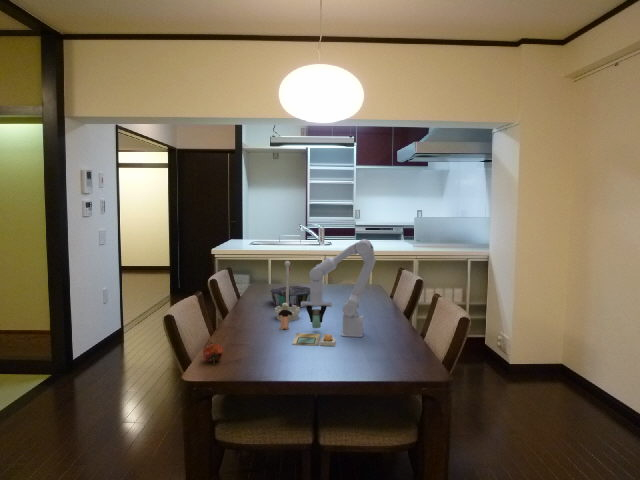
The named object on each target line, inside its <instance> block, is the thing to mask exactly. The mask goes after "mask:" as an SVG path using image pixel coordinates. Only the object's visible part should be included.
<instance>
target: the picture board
mask: <svg viewBox="0 0 640 480" xmlns="http://www.w3.org/2000/svg"><path fill="white" fill-rule="evenodd" d="M321 336H322V335H321V333H303V332H302V333H298V332H297V333H296V334H295V336H294V338H293V341H292V343H291V344H292V346H317V347H319V345H320V344H319V343H320V341H321Z"/></svg>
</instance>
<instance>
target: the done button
mask: <svg viewBox="0 0 640 480" xmlns="http://www.w3.org/2000/svg"><path fill="white" fill-rule="evenodd" d="M332 336H333V335H332V334H330V333H329V334H327V333H326V334H324V335H323V338H324V341H330V342H331V341H332V338H333V337H332Z"/></svg>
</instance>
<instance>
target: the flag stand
mask: <svg viewBox="0 0 640 480" xmlns="http://www.w3.org/2000/svg"><path fill="white" fill-rule="evenodd" d="M284 266H285V287H286V303H287V304H288V305H289V286H290V279H289V278H290V271H291V268H290V266H291V262H290V261H289V260H285V262H284ZM281 310H283V307H281V306H276V307H274V314H275V315H276V319H277V320H278V321H281V316H282V315H280V317H279V318H277V316H278V314H279V312H280V311H281ZM287 310H289V311H290V312H292V314H293V316H294V317H293V318H292V317H291V315H288V316H289V322H290V321H296V320H298V318H299V314H300V313H301V307H297V306H295V305H292V307H288V309H287Z"/></svg>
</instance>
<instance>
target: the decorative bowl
mask: <svg viewBox="0 0 640 480" xmlns="http://www.w3.org/2000/svg"><path fill="white" fill-rule="evenodd" d="M269 294H270V295H271V298H272V300H273V304H274V306H276V307H277V306H281V307H282V304H283V303H286V286H279V287H275V288H271V289H270V290H269ZM306 301H310V286H304V285H303V286H302V285H289V307H292V305H295V306H297V307H300V308H304V307H305V306H303V307H301V302H306Z"/></svg>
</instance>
